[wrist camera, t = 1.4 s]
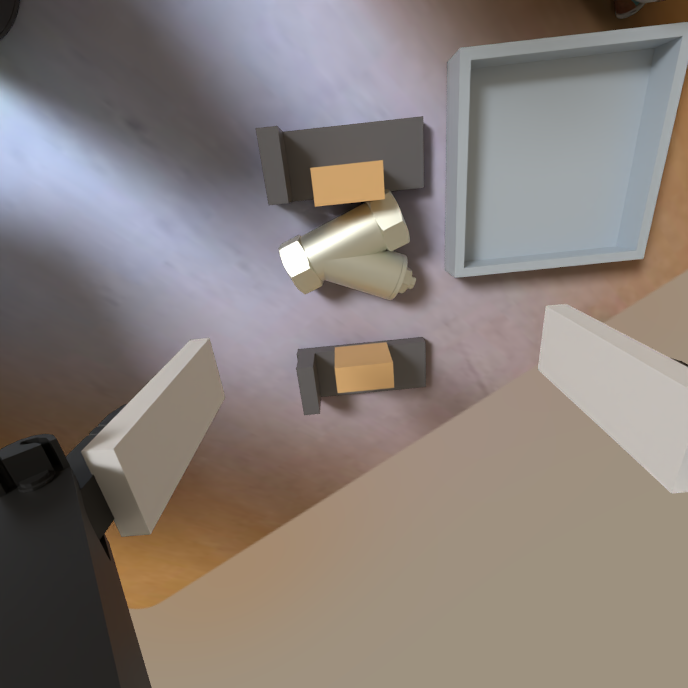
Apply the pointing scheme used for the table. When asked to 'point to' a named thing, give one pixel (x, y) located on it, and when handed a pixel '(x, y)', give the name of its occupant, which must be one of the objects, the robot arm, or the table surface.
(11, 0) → the light fixture
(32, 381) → the table surface
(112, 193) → the table surface
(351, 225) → the pipe fitting
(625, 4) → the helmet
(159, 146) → the table surface
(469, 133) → the parts tray
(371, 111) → the table surface
